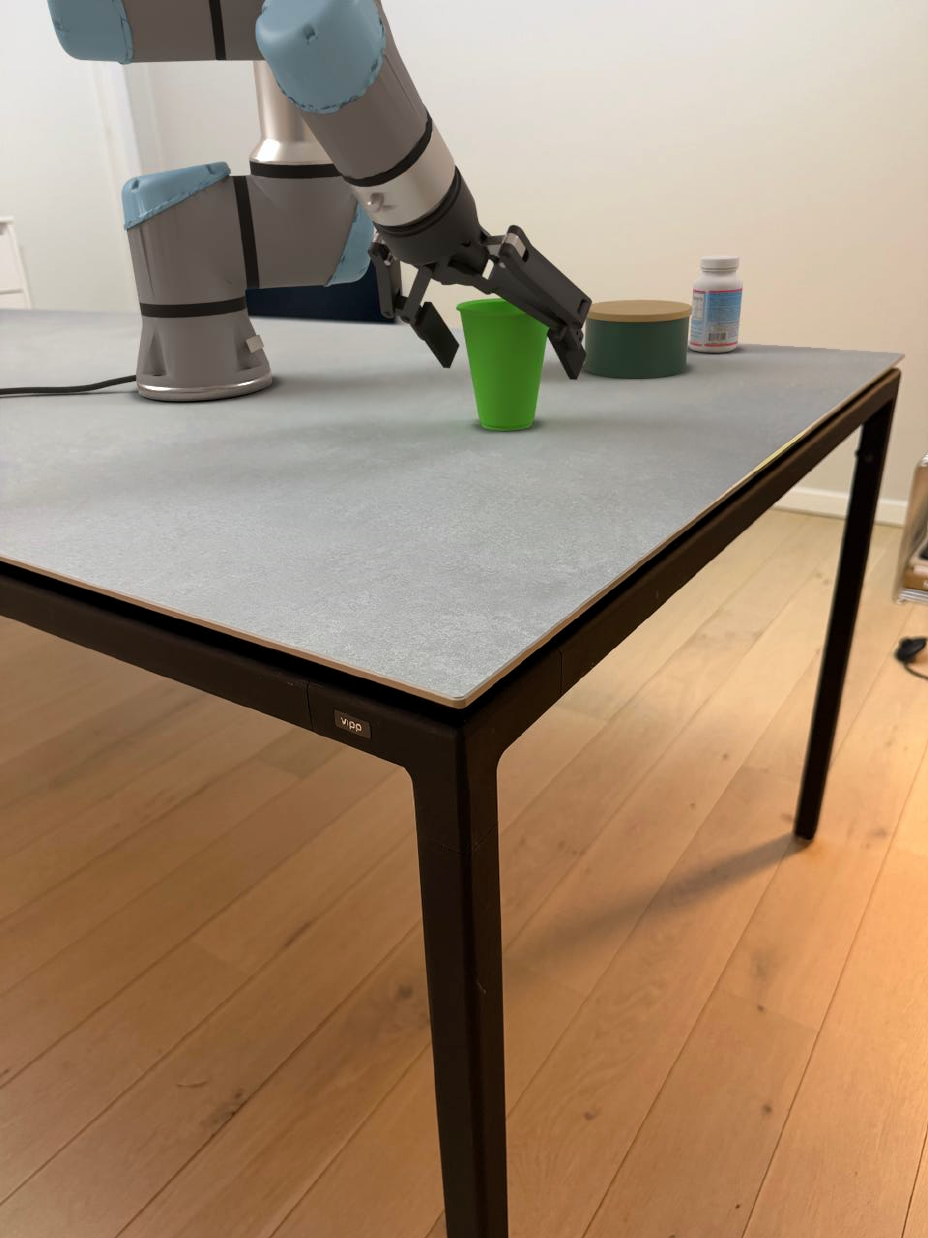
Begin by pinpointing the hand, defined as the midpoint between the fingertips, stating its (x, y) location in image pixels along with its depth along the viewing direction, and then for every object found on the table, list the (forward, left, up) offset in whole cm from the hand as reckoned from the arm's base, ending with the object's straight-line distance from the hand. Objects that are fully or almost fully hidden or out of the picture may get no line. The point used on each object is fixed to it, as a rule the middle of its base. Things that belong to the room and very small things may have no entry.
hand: (512, 361), depth 86 cm
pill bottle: (+35, +26, -6) cm, 44 cm away
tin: (+21, +19, -6) cm, 29 cm away
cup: (-1, -1, -6) cm, 6 cm away
